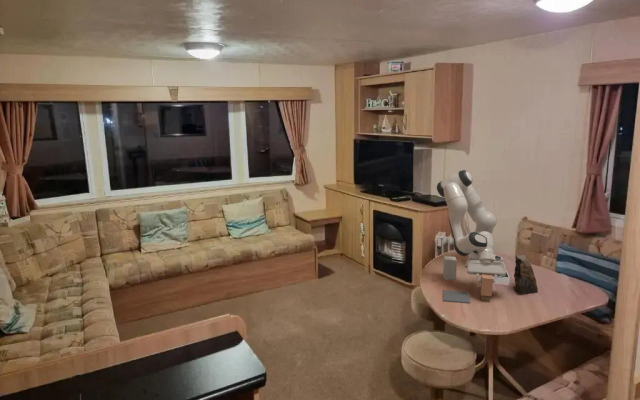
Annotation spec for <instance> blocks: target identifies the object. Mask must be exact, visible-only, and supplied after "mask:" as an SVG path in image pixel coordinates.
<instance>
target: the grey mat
mask: <svg viewBox="0 0 640 400" xmlns="http://www.w3.org/2000/svg"><path fill="white" fill-rule="evenodd" d="M442 301H443V302H448V303H449V302H450V303H458V304H459V303H461V304H471V299H470V292H469V291H465V290H463V291H462V290H451V289H449V290H448V289H442Z"/></svg>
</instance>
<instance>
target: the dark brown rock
mask: <svg viewBox="0 0 640 400" xmlns="http://www.w3.org/2000/svg"><path fill="white" fill-rule="evenodd" d="M514 262H515V267H514V274H513V277H514V285H515V286H514V292H515V293H517V294H519V295H520V296H521V295H523V296H524V295H530V294H536V293H539V292H538V289H539V288H538V285H537V279H536V276H535V273H534V268H533V267H532V264H531V262H530V260H529V259H528V258H527V256H526V255H525V254H524V253H521V254H517V255H516V256H515V260H514Z"/></svg>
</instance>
